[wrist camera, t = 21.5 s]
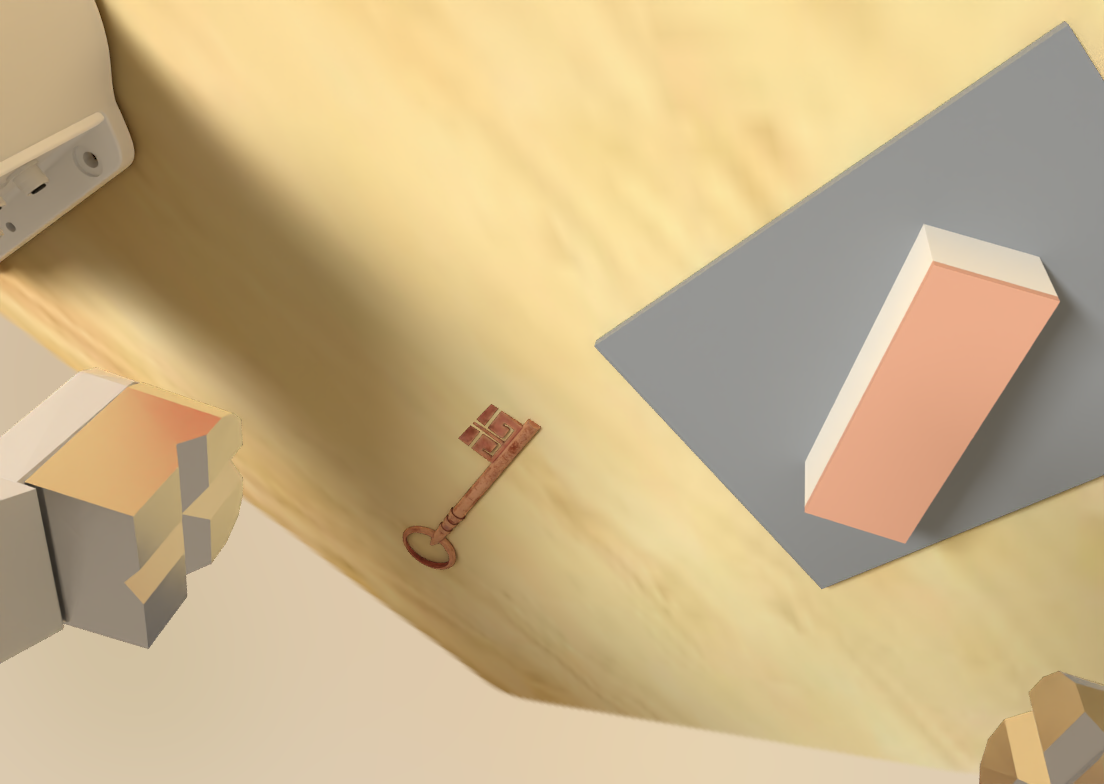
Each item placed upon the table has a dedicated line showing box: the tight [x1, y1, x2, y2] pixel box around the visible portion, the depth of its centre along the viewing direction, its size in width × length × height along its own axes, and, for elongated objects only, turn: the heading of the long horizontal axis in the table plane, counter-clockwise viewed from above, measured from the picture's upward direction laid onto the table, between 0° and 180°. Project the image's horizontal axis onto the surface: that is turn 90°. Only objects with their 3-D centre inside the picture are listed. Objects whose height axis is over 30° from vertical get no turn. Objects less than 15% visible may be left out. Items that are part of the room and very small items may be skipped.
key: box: [403, 404, 541, 570], centre depth 54 cm, size 6×1×15 cm
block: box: [805, 224, 1060, 544], centre depth 41 cm, size 4×5×14 cm
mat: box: [595, 21, 1104, 589], centre depth 42 cm, size 24×20×1 cm
